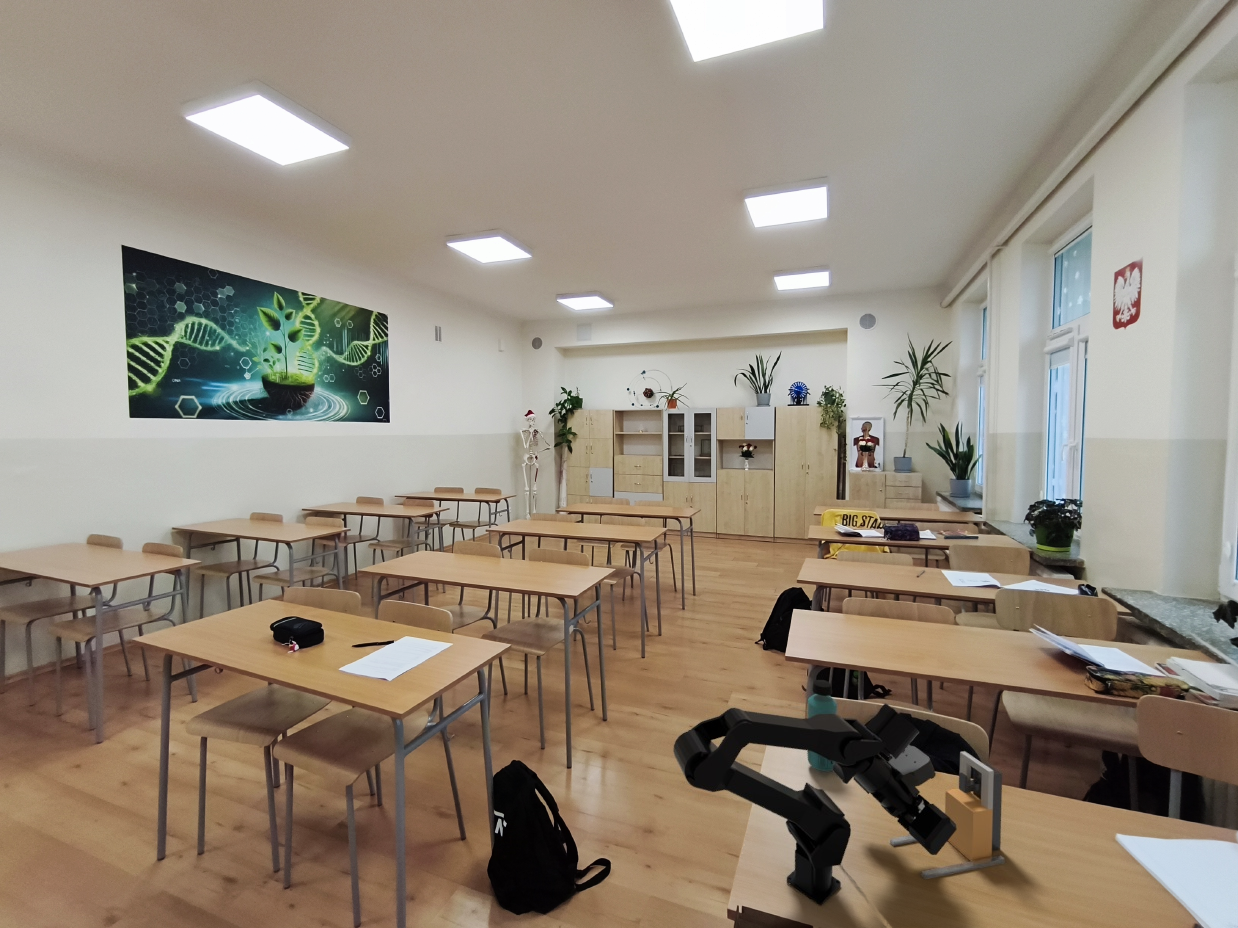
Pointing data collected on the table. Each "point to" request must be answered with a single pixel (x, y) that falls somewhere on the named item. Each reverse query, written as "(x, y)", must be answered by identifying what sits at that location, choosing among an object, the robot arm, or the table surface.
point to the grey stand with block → (996, 826)
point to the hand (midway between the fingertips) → (928, 827)
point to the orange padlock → (972, 812)
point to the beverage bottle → (821, 705)
